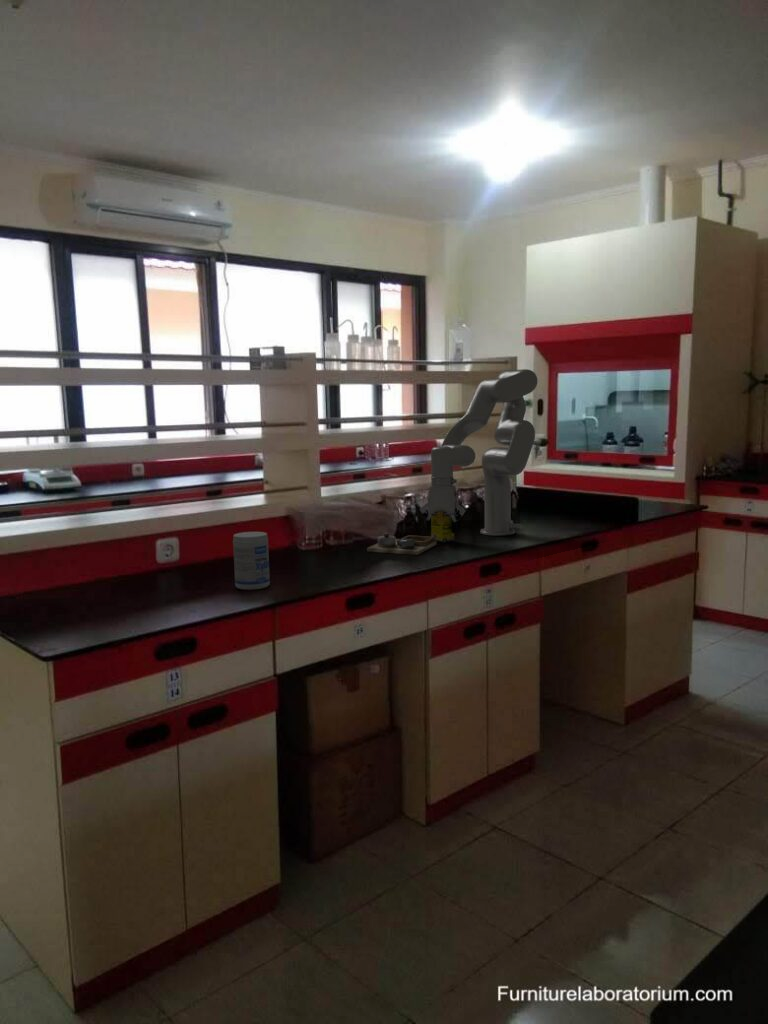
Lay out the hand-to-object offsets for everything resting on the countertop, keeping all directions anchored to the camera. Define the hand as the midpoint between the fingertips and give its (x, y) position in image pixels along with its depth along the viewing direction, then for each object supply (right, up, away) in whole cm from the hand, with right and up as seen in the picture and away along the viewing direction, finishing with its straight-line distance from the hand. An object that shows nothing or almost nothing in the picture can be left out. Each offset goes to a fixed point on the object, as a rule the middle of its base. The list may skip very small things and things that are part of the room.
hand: (442, 531), depth 274 cm
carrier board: (-14, -5, -10) cm, 18 cm away
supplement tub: (-57, -14, -59) cm, 83 cm away
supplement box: (0, -4, +1) cm, 4 cm away
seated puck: (-13, -5, -15) cm, 21 cm away
